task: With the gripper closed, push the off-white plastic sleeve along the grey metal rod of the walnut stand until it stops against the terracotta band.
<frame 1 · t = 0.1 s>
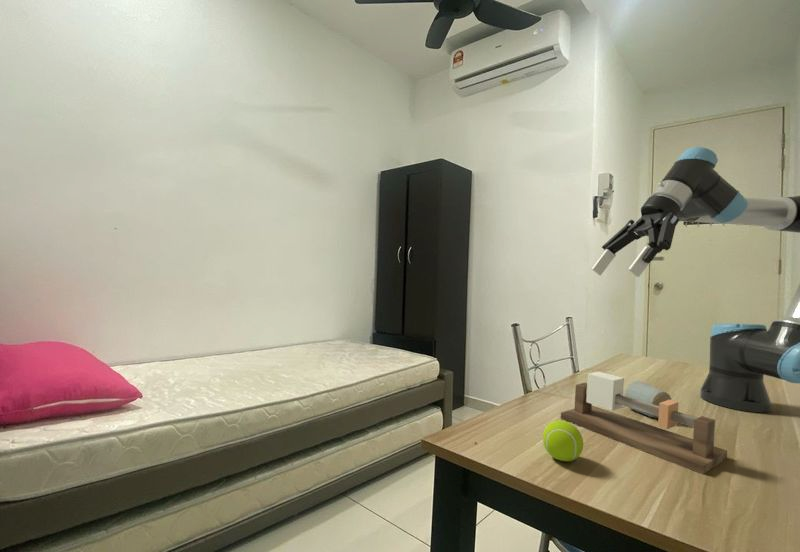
hand: (613, 272, 90), 36 cm above the table, tool tilted 35°, fingers open, 13 cm apart
tennis ball: (561, 460, 70), on the table
rail stand: (635, 436, 81), on the table
sleeve: (604, 390, 87), point 8 cm above the table, slide at 0.0 cm
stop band: (666, 447, 76), resting on rail stand
pale blue cylinder: (650, 414, 96), on the table
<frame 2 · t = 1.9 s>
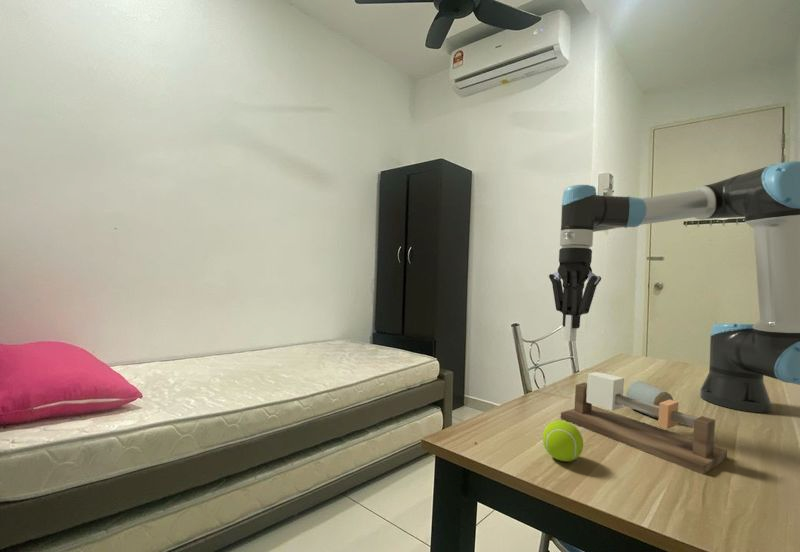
hand: (570, 340, 95), 18 cm above the table, tool pointing down, fingers closed
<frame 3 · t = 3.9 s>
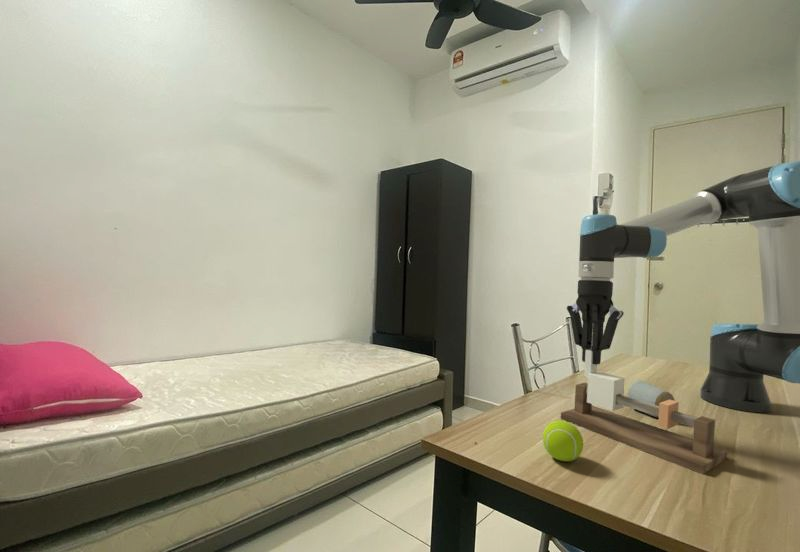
hand: (590, 376, 90), 10 cm above the table, tool pointing down, fingers closed
sleeve: (605, 390, 87), point 8 cm above the table, slide at 0.1 cm, touching gripper
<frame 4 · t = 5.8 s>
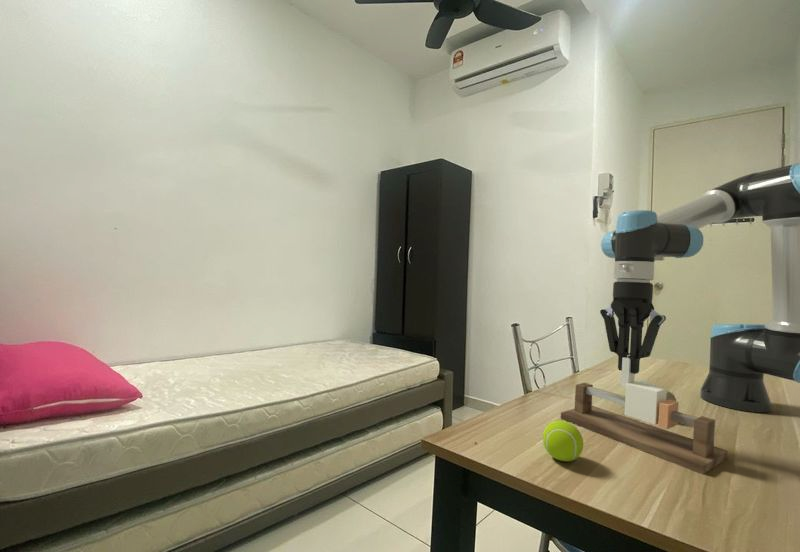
hand: (627, 386, 83), 10 cm above the table, tool pointing down, fingers closed
sleeve: (645, 401, 80), point 8 cm above the table, slide at 8.6 cm, touching gripper
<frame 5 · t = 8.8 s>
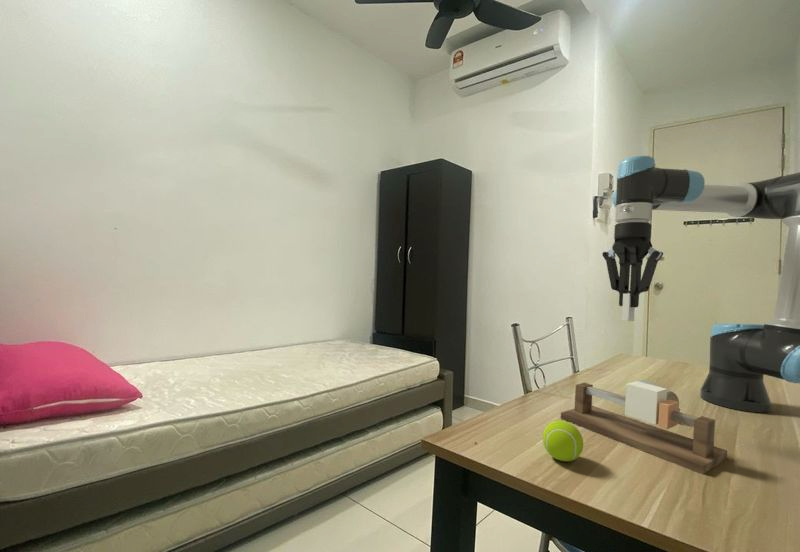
hand: (627, 320, 90), 24 cm above the table, tool pointing down, fingers closed
sleeve: (645, 402, 80), point 8 cm above the table, slide at 8.7 cm
at the end: sleeve slide at 8.7 cm; sleeve 4.3 cm from the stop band (horizontally) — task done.
